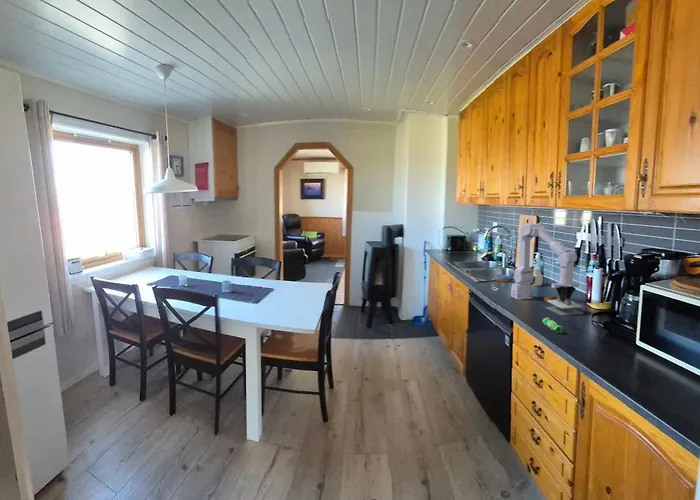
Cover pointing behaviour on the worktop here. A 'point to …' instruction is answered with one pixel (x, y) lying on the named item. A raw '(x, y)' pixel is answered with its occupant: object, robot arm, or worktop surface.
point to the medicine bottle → (536, 277)
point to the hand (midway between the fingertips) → (564, 300)
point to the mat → (564, 310)
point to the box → (551, 299)
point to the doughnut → (501, 278)
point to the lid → (564, 303)
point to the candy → (552, 325)
